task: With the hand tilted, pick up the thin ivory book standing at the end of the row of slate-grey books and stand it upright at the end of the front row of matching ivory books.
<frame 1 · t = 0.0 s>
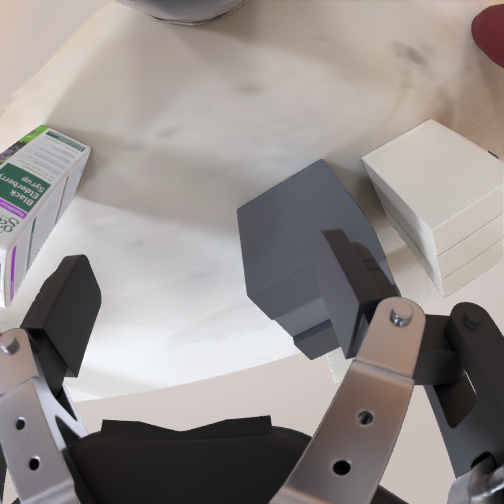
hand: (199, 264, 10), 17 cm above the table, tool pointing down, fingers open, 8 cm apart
grey books: (303, 221, 31), on the table
white books: (409, 170, 28), on the table
mug: (487, 42, 19), on the table
syrup box: (58, 161, 24), on the table
white book: (343, 285, 37), on the table
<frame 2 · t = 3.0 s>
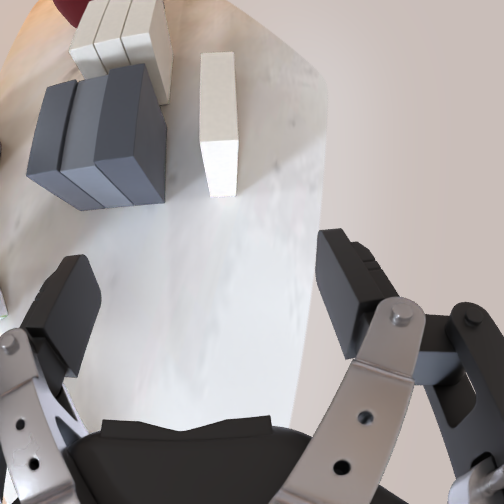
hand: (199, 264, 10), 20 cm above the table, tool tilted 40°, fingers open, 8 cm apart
grey books: (122, 167, 32), on the table
white books: (140, 81, 33), on the table
mug: (101, 22, 35), on the table
white book: (221, 159, 32), on the table
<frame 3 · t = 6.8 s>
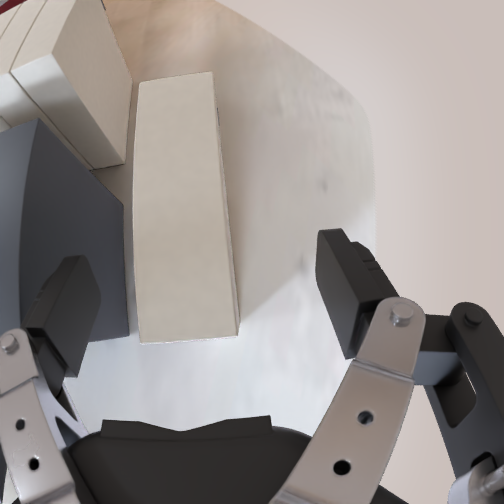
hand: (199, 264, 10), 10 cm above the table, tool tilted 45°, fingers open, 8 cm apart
grey books: (64, 274, 20), on the table
white books: (85, 128, 22), on the table
white book: (212, 259, 20), on the table
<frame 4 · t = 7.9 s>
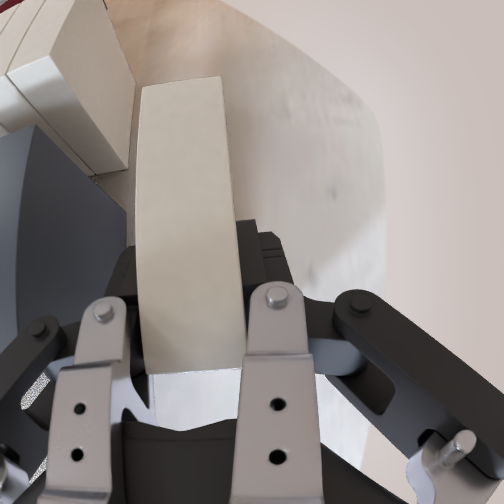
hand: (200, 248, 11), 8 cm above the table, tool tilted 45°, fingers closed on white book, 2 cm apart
grey books: (65, 283, 19), on the table
white books: (86, 131, 22), on the table
white book: (218, 269, 20), on the table, touching gripper
when the fingers open (8 cm above the table, at t = 15.9 s): white book stays where it is, on the table.
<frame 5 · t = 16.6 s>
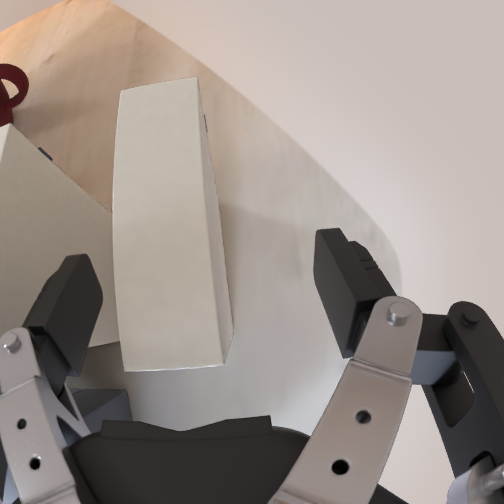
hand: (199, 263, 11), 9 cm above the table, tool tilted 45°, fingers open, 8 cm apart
grey books: (78, 445, 17), on the table
white books: (65, 281, 19), on the table
mug: (8, 127, 22), on the table
white book: (204, 268, 20), on the table
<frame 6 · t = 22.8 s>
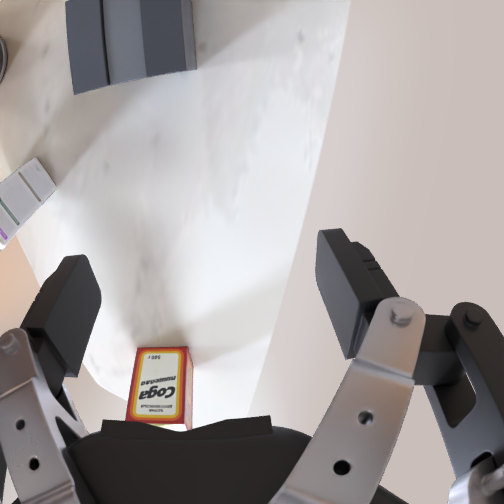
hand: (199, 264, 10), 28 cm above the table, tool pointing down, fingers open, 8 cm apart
baking soda box: (165, 357, 56), on the table
grey books: (150, 39, 28), on the table
syrup box: (35, 182, 35), on the table
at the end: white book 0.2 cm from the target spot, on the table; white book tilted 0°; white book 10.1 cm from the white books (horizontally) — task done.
